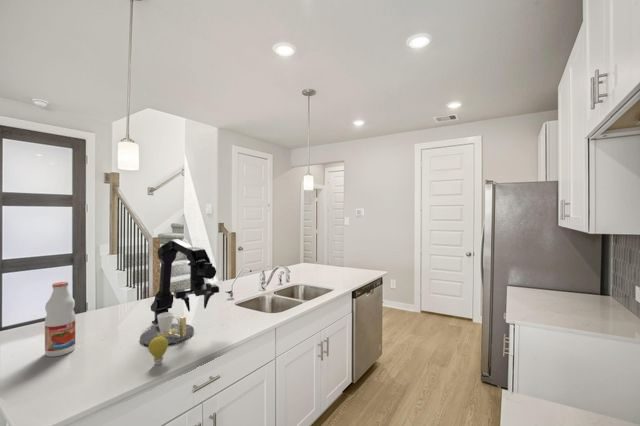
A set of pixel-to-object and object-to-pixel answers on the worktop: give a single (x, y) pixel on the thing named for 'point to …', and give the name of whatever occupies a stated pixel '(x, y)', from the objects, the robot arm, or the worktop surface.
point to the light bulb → (158, 348)
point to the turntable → (172, 337)
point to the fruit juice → (59, 321)
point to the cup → (166, 322)
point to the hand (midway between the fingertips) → (197, 309)
